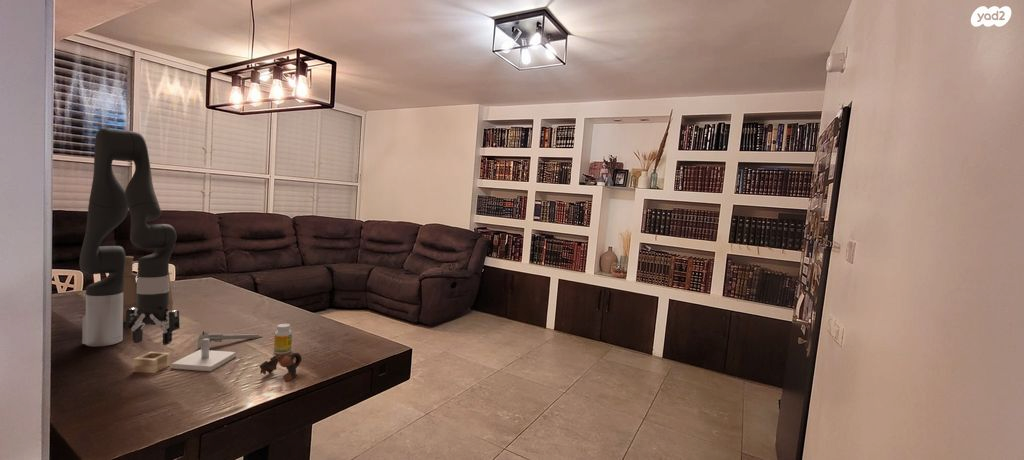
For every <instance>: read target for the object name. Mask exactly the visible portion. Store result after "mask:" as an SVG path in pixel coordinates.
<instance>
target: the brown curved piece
mask: <svg viewBox="0 0 1024 460" xmlns="http://www.w3.org/2000/svg"><path fill="white" fill-rule="evenodd" d="M294 358H295V362H294ZM301 362H302V355H301V354H300V353H299V352H293V353H291V354H290V355H286V354H284V353H280V354H277V355H274V356H272V357H271V358H270V359H269V361H268V360H265V361H264V362H263V363H260V365H259V368H260V374H264V375H266V373H268V374H272V373H273V372H274V371H276V370H277V369H278V368H277V365H278V363H279V365H280V366H281V367H283V368H285V369H287V371H288V372H287V373H286V374H284V375H283V376H282V377H283V379H284V381H285V383H287V382H290V381H291V380H293V379H294V378H296V377H297V368H298V367H299V366H300V364H301Z"/></svg>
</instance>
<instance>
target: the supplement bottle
mask: <svg viewBox="0 0 1024 460" xmlns="http://www.w3.org/2000/svg"><path fill="white" fill-rule="evenodd" d="M276 329H277V330H276V331H275V332H274V345H273V353H275V354H277V355H278V354H280V353H284V355H286V354H289V353H290V352H291V351H292V341H293V339H292V337H293V332H292V330H291V324H289V323H281V324H280V323H279V324H277V326H276Z"/></svg>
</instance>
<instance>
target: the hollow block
mask: <svg viewBox="0 0 1024 460" xmlns="http://www.w3.org/2000/svg"><path fill="white" fill-rule="evenodd" d="M170 365H171V352H166V351H165V352H164V351H163V352H162V351H148V352H146V353H144V354H141V355H139V356H137V357H134V358H133V373H143V374H144V373H145V374H146V373H147V374H156V373H158V372H160V371H162V370H163V369H165V368H167V367H169V366H170ZM170 367H171V366H170Z"/></svg>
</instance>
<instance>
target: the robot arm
mask: <svg viewBox="0 0 1024 460" xmlns="http://www.w3.org/2000/svg"><path fill="white" fill-rule="evenodd" d="M93 154H94V155H93V156H94V160H93V176H92V184H91V188H90V195H89V201H88V207H87V208H88V209H87V219H86V228H85V233H84V238H83V242H82V245H81V251H80V254H79V270H80V272H81V273H82V274H85V275H102V274H108V275H107V276H105V277H104V278H103V279H101V280H98V281H96V282H92V283H90V284H88V285H87V286H86V288H85V315H83V316H82V326H81V327H82V329H81V330H82V336H81V339H82V342H81V343H82V345H85V346H87V347H95V348H96V347H107V346H111V345H112V346H113V345H115V344H118V343H120V342H122V341H123V339H124V327H125V329H127V330H128V329H129V330H131V331H132V341H133V343H134V344H138V343H142V341H143V327H145V325H153V326H155V325H156V326H157V327H158V328H160V329H161V331H162V332H163V333H162V345H163V346H167V345H169V344H171V343H172V342H173V332H175V331H177V330H179V329H180V327H181V326H180V311H179V310H177V309H173V311H169V310H168V308H167V307H168V304H169V276H170V274H169V273H170V272H169V268H170V267H169V266H170V265H169V262H170V258H171V257H172V253H173V250H174V247H175V245H176V242H177V238H178V236H177V231H176V229H175V227H174V226H172V225H171V224H169V223H168V224H167V223H155V224H148V223H147V222H151V221H154V220H157V219H158V218H160V217H161V215H162V209H161V207H160V204H159V201H158V198H157V195H156V192H155V188H154V184H153V177H152V170H151V169H152V168H151V164H150V163H151V162H150V156H149V150H148V146H147V141H146V139H145V137H144V136H143V134H142V133H140V132H137V131H133V130H123V129H114V128H100V129H99V130H98V131H97V133H96V135H95V139H94V153H93ZM113 161H129V162H131V161H132V162H133V164H134V167H135V168H134V169H135V170H134V173H133V175H132V177H131V179H130V180H129V182H128V184H127V185H126V188H125V187H124V185H122V184H121V182H120V181H119V180H118V178H117V177H116V175H115V173H114V171H113ZM128 211H129V213H130V230H129V239H130V243H132V245H133V246H134V247H136V248H138V249H155V248H156V249H155V250H154V252H153V253H151V254H147V255H145V256H142V257H140V258H138V263H137V274H138V278H137V280H136V285H137V292H136V306H137V307H138V309H137V308H136V307H134V308H130V309H127V310H126V322H123V288H124V272H125V261H126V256H127V255H126V251H125V249H124V247H123V246H121V245H104V246H101V244H102V242H103V240H104V239H105V237H107V235H109V234H110V233H111V232H112V231H113V230H114V229H116V228H117V227H118V226H119V225H121V224H122V222H124V220H125V219H126V218H127V216H128ZM137 314H138V316H139V318H138V319H137ZM167 315H168V317H167ZM124 323H125V324H124Z"/></svg>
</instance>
